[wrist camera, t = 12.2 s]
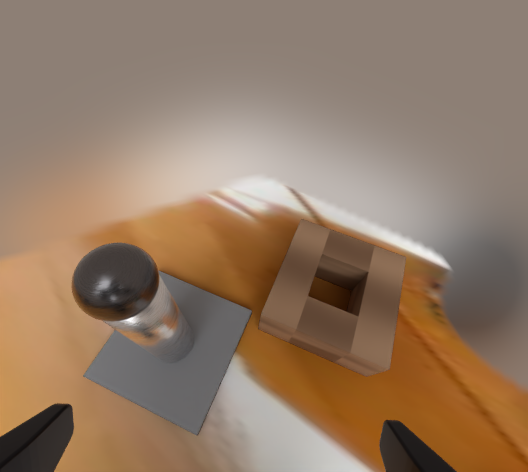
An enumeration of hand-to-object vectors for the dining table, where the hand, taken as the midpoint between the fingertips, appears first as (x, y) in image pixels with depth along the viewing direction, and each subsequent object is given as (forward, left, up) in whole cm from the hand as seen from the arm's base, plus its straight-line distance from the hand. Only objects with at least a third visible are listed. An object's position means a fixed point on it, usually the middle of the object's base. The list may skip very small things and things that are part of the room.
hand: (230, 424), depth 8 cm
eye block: (+11, -3, -14) cm, 18 cm away
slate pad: (+3, +7, -14) cm, 15 cm away
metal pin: (+3, +7, -13) cm, 15 cm away
